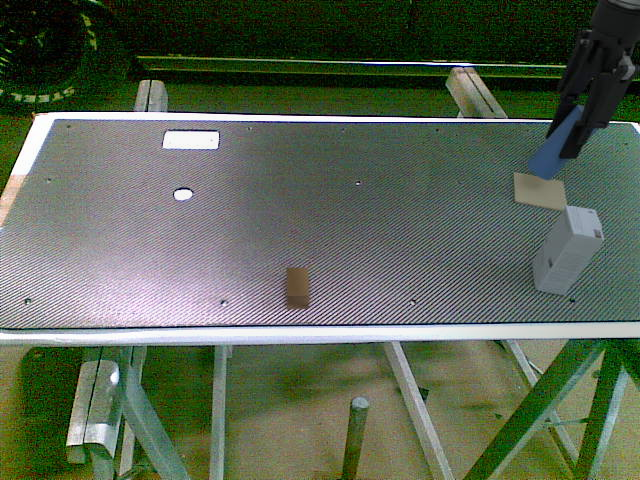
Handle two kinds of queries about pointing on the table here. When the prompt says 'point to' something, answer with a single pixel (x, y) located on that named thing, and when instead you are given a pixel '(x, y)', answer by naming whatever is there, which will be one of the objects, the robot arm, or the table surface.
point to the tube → (555, 148)
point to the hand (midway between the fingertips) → (560, 147)
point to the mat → (539, 192)
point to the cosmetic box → (567, 250)
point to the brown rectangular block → (297, 288)
